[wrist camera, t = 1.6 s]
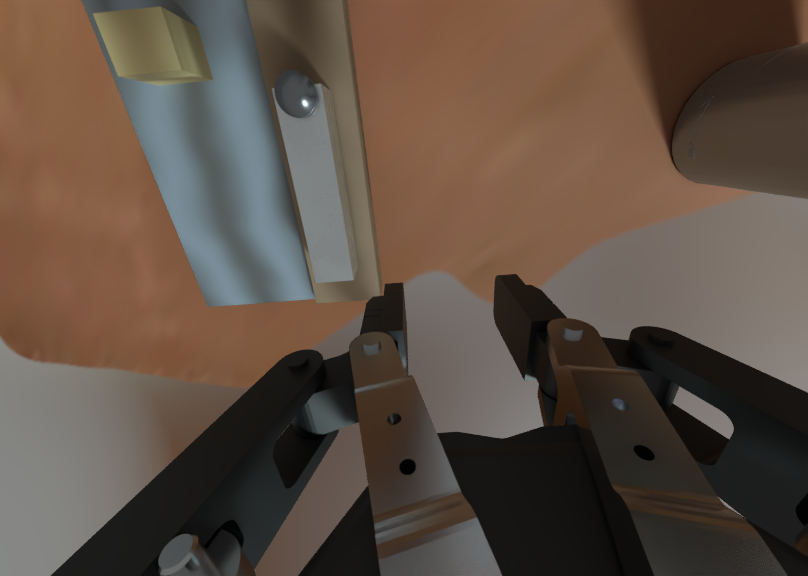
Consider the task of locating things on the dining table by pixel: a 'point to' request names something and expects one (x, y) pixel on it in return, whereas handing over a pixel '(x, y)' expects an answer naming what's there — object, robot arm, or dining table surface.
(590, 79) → the dining table surface
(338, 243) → the lock bar
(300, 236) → the latched flap box
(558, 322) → the robot arm
